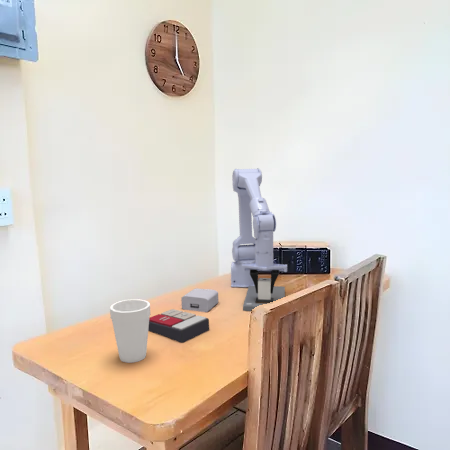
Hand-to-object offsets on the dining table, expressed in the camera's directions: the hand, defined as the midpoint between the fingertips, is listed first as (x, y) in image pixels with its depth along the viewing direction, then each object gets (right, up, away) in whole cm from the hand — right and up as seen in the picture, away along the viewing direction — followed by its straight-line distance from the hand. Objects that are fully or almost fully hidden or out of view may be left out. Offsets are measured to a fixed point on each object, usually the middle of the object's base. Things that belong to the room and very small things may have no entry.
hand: (264, 292), depth 136 cm
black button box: (-26, -8, -18) cm, 33 cm away
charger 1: (-20, -5, +3) cm, 21 cm away
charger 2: (0, -2, 0) cm, 2 cm away
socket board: (+1, -3, +6) cm, 7 cm away
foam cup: (-35, -10, -34) cm, 50 cm away
